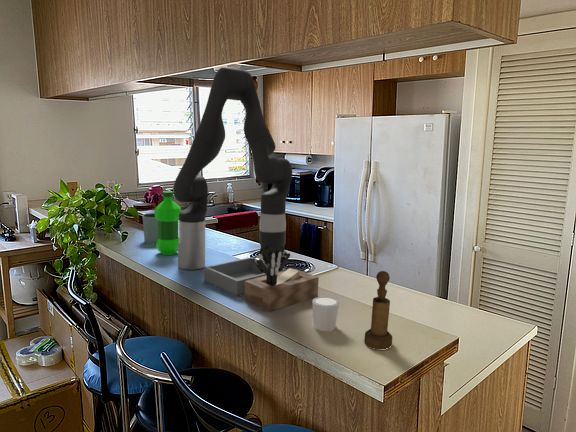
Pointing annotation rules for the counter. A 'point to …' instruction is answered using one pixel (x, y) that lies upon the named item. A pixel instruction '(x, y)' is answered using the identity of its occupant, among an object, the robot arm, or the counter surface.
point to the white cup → (325, 313)
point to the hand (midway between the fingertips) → (271, 286)
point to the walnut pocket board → (280, 291)
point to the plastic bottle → (167, 224)
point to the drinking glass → (150, 228)
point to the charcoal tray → (232, 275)
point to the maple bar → (288, 276)
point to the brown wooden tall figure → (379, 317)
